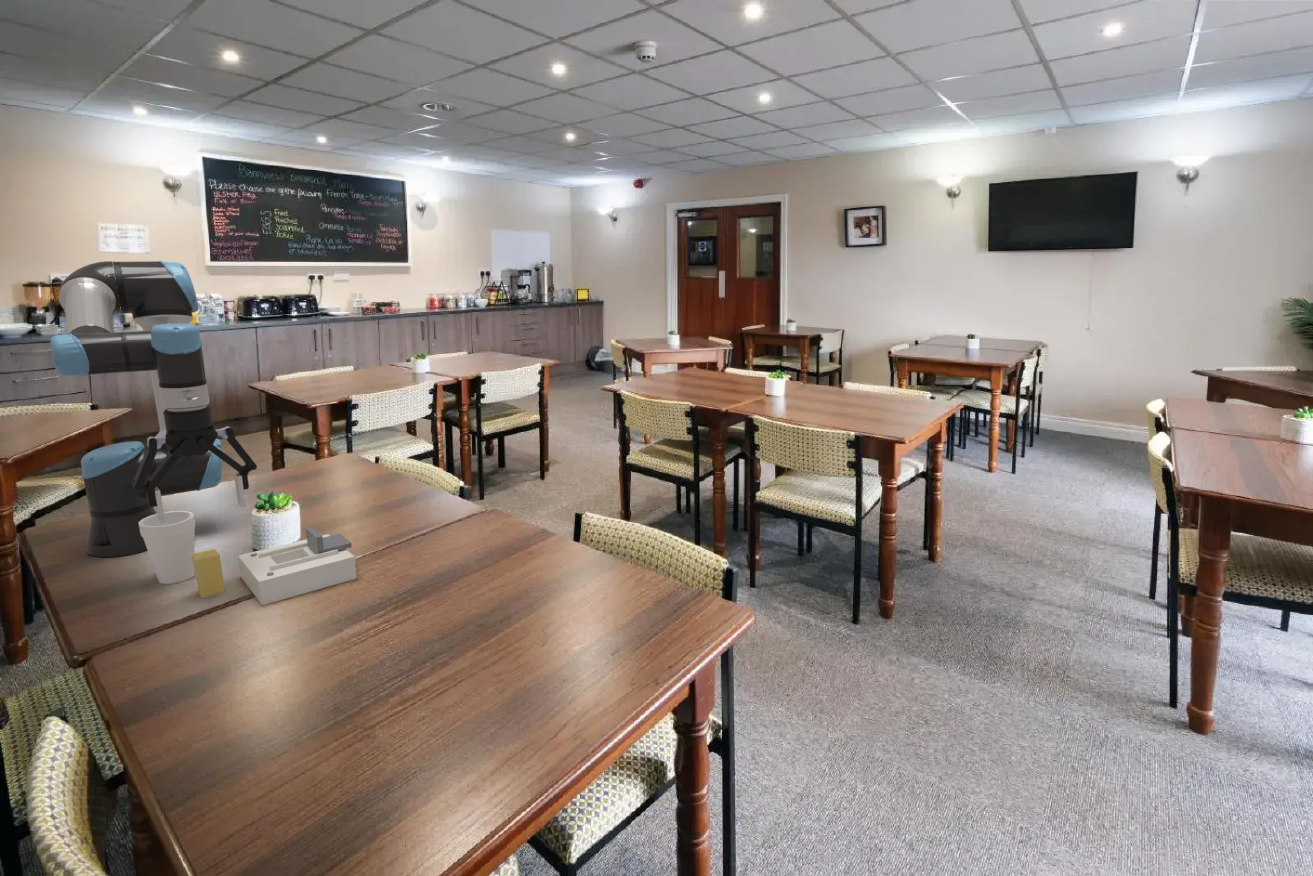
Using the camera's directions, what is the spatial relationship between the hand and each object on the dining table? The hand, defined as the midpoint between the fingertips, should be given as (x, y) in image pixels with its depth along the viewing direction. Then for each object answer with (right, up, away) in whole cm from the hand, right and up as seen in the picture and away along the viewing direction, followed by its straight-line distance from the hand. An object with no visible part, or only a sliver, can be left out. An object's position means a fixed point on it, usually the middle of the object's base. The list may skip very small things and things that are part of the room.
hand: (203, 513), depth 138 cm
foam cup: (-12, -15, +10) cm, 21 cm away
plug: (-1, -16, +4) cm, 17 cm away
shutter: (+19, -8, +13) cm, 24 cm away
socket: (+13, -15, +9) cm, 22 cm away
